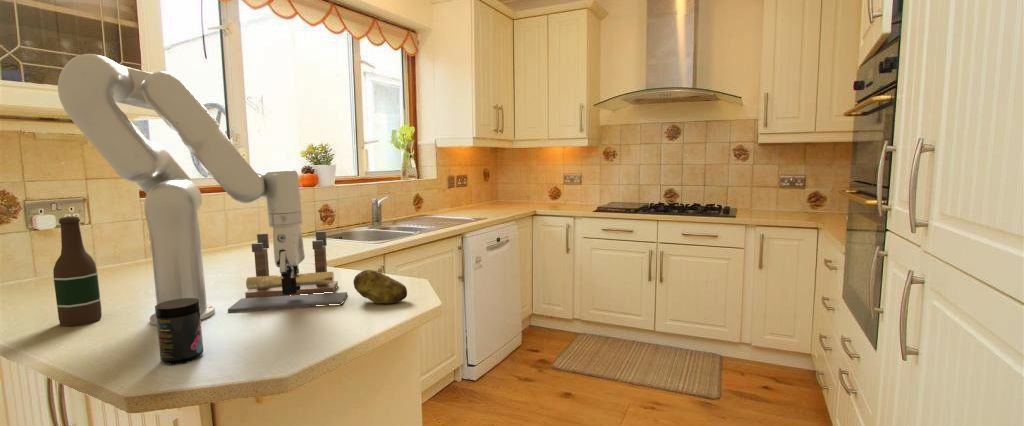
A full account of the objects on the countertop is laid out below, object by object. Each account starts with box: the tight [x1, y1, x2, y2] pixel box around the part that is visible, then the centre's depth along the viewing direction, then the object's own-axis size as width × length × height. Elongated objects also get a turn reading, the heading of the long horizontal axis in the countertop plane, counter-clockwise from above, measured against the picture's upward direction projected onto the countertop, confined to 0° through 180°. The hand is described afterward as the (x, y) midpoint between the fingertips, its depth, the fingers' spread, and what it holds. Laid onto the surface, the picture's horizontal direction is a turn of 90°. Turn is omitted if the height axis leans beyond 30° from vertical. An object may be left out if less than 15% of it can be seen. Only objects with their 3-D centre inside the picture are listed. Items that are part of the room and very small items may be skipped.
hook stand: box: [244, 230, 339, 298], centre depth 134 cm, size 7×22×16 cm, turn 100°
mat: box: [227, 291, 348, 313], centre depth 125 cm, size 9×26×1 cm, turn 100°
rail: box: [245, 271, 335, 291], centre depth 124 cm, size 3×20×3 cm, turn 100°
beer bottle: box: [52, 216, 103, 327], centre depth 112 cm, size 8×8×24 cm
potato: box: [352, 269, 408, 304], centre depth 124 cm, size 8×13×8 cm, turn 64°
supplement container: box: [154, 298, 204, 365], centre depth 91 cm, size 7×7×10 cm
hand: (291, 291), depth 124 cm, fingers closed on rail, 3 cm apart
